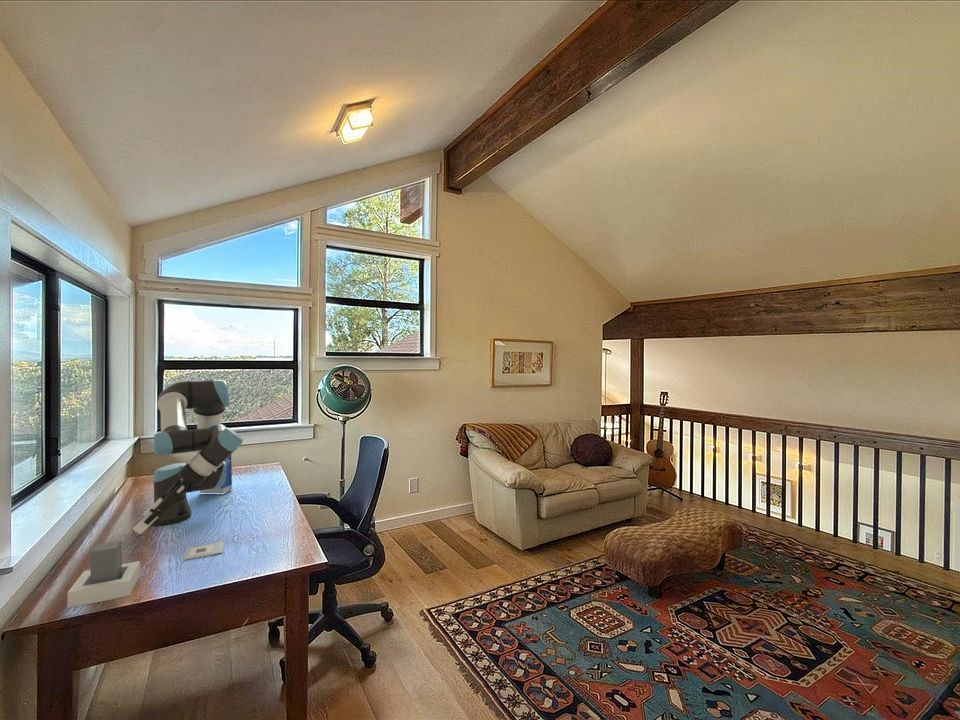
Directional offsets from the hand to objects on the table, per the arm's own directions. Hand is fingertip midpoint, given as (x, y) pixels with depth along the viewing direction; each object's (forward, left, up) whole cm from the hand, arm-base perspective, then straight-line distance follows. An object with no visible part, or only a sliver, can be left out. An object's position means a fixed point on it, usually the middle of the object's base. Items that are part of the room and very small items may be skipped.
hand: (141, 523), depth 137 cm
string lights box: (-94, +14, -19) cm, 97 cm away
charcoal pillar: (0, -9, -17) cm, 20 cm away
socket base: (0, -9, -19) cm, 21 cm away
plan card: (-17, +15, -19) cm, 30 cm away
